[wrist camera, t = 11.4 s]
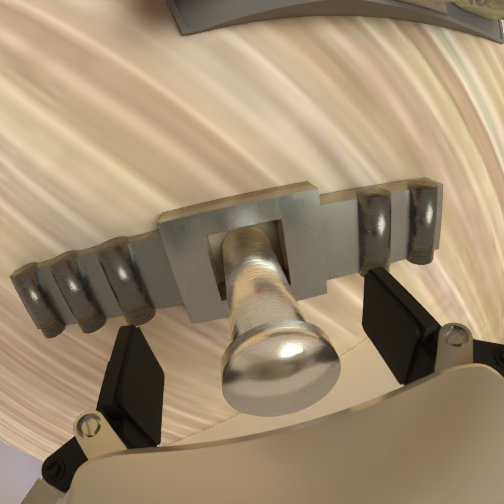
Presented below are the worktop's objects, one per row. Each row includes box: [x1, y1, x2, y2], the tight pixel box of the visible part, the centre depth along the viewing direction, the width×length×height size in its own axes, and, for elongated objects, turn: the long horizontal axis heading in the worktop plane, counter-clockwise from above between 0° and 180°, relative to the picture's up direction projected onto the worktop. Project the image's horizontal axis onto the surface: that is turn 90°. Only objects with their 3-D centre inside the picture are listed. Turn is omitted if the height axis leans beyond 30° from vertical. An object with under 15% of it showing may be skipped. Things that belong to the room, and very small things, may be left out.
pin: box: [221, 226, 341, 417], centre depth 14 cm, size 4×4×11 cm
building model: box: [166, 338, 404, 446], centre depth 28 cm, size 45×22×10 cm, turn 127°
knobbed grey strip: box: [10, 178, 443, 338], centre depth 17 cm, size 32×7×3 cm, turn 100°
